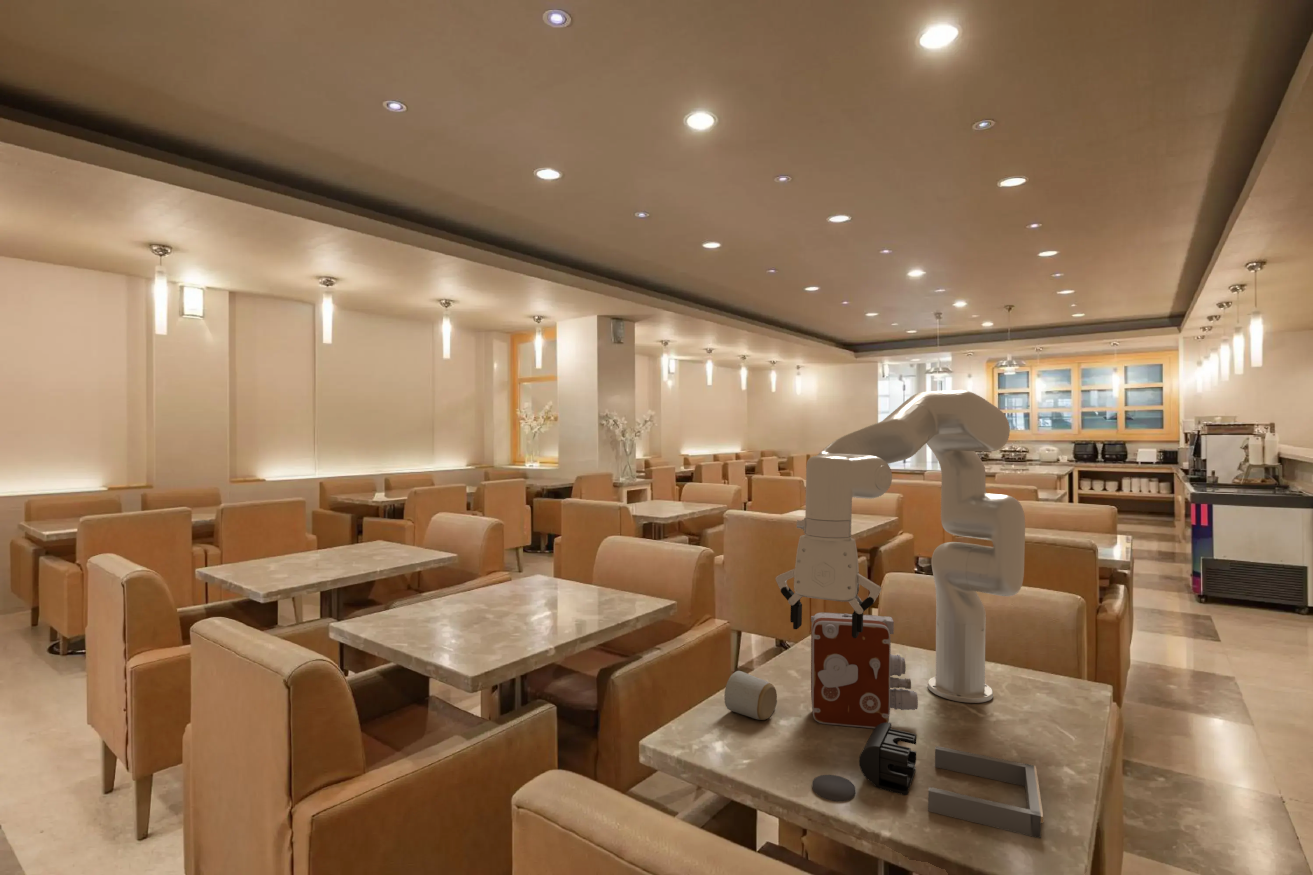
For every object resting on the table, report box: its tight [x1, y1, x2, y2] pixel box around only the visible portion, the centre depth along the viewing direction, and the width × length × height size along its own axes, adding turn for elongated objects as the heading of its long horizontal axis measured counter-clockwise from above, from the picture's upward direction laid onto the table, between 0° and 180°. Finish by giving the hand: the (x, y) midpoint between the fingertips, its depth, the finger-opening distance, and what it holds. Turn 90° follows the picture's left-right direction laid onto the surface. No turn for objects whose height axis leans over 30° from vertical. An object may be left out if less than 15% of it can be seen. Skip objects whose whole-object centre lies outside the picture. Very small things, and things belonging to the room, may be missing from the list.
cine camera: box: [810, 611, 919, 729], centre depth 126 cm, size 9×19×20 cm, turn 78°
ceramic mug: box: [723, 670, 778, 721], centre depth 130 cm, size 11×8×8 cm
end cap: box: [858, 722, 917, 796], centre depth 106 cm, size 10×7×7 cm
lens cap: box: [811, 774, 856, 802], centre depth 102 cm, size 6×6×1 cm
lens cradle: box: [927, 745, 1044, 839], centre depth 100 cm, size 15×14×3 cm
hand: (825, 631), depth 111 cm, fingers open, 9 cm apart
